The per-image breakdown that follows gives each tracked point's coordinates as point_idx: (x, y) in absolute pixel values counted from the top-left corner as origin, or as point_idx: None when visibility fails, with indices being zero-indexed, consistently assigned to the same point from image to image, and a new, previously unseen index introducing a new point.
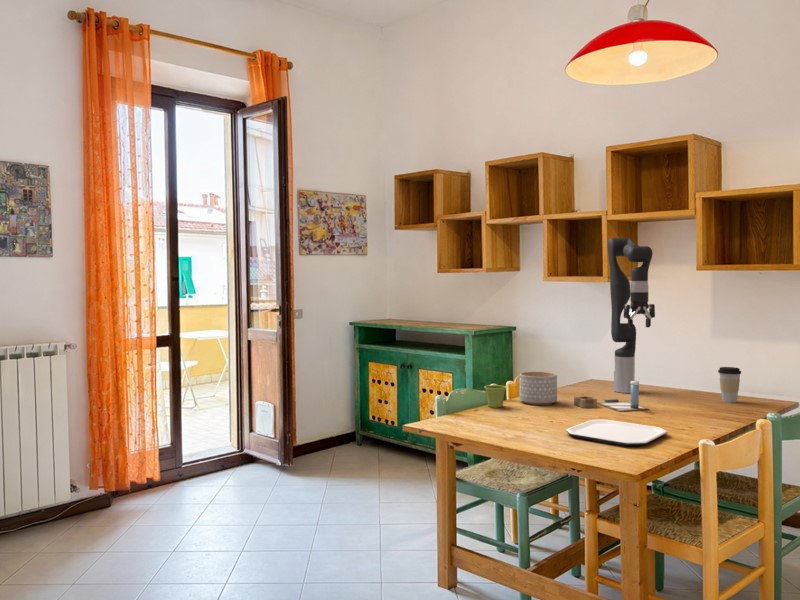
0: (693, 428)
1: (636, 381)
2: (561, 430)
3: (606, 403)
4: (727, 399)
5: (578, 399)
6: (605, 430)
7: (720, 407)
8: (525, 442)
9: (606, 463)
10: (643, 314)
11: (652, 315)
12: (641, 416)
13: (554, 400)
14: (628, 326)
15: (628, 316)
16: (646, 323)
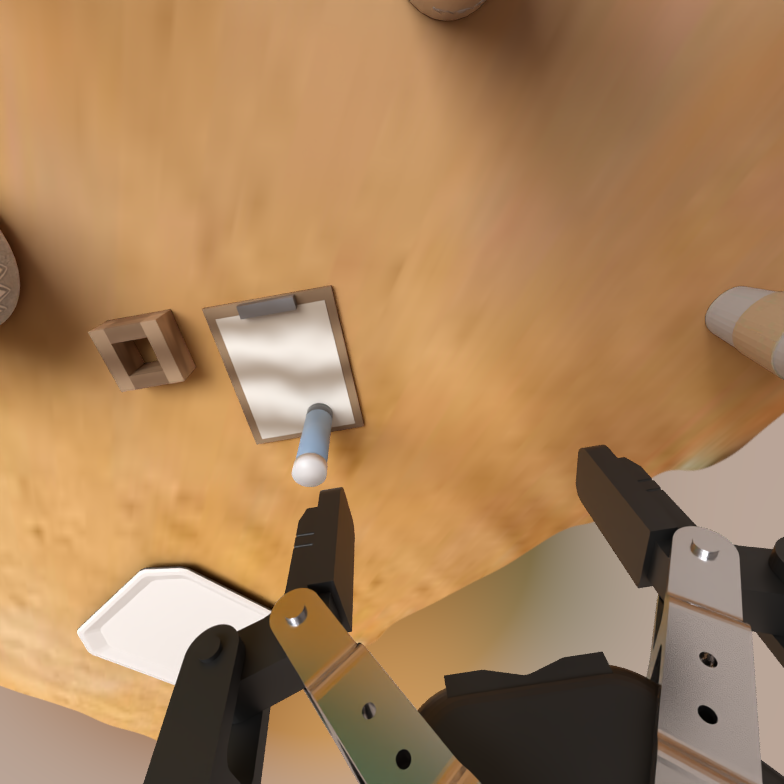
0: (378, 590)
1: (316, 473)
2: (72, 599)
3: (239, 333)
4: (715, 333)
5: (109, 364)
6: (169, 623)
7: (613, 399)
8: (3, 661)
9: (149, 726)
10: (665, 612)
11: (765, 638)
12: (306, 494)
13: (7, 315)
14: (309, 514)
15: (260, 707)
16: (603, 494)
